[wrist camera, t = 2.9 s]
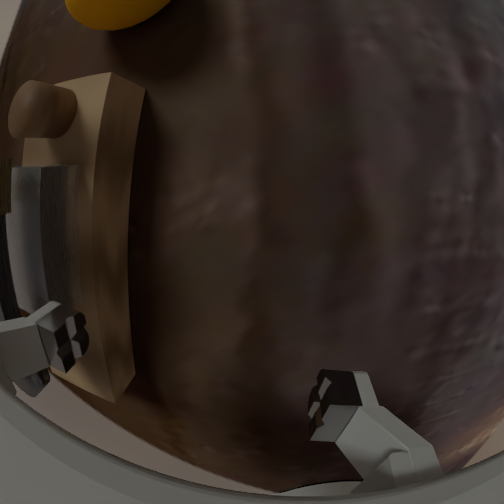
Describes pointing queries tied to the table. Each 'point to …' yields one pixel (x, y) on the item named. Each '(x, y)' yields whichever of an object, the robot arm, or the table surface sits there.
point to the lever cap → (45, 235)
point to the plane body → (92, 205)
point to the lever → (3, 292)
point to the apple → (113, 12)
